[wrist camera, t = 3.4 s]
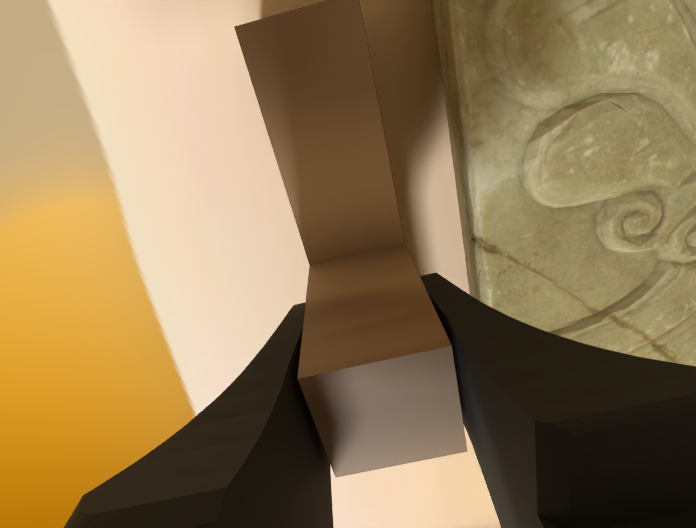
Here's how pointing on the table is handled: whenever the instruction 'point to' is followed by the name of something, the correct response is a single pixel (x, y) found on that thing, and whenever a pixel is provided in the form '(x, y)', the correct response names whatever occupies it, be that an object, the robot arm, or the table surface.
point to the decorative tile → (578, 165)
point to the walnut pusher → (352, 247)
